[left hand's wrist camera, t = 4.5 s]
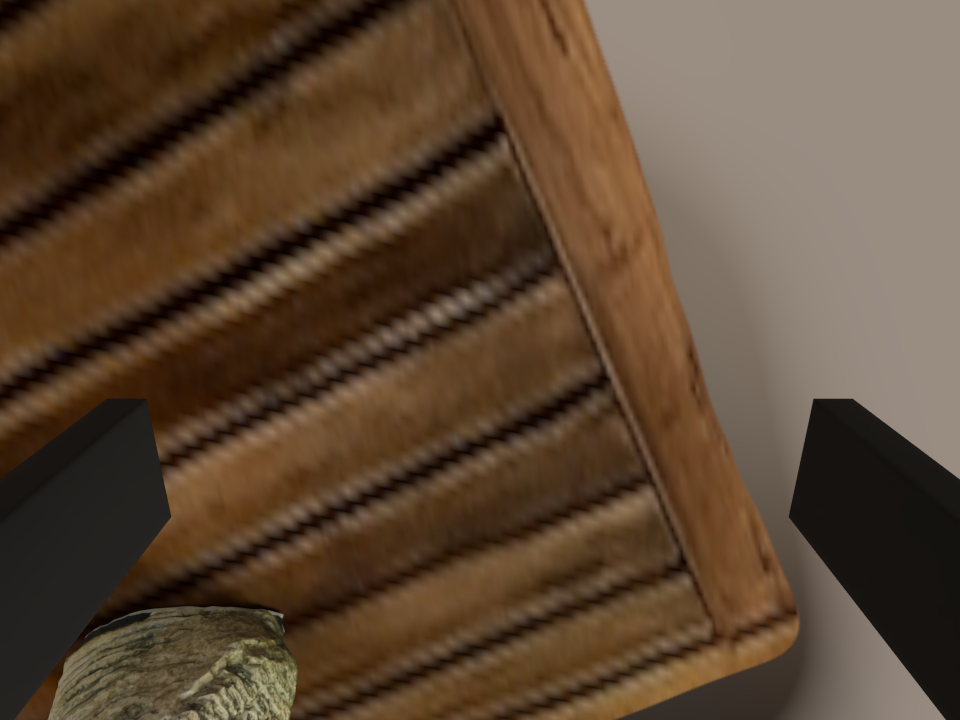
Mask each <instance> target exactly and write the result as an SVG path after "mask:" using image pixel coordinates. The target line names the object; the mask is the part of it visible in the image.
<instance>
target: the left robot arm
mask: <svg viewBox="0 0 960 720" xmlns="http://www.w3.org/2000/svg"><path fill="white" fill-rule="evenodd" d="M170 518H171V514H170V509H169V504H168V499H167V495H166V490H165V485H164V480H163V476H162V471H161V466H160V461H159V457H158V452H157V447H156V442H155V438H154V433H153V428H152V423H151V419H150V414H149V409H148V404H147V400H146V399H106V400H105V401H104V402H102V403H101V404H100V405H98V406H97V407H96V408H94V409H93V410H92V411H91V412H89V413H88V414H87V415H85V416H84V417H83V418H81V419H80V420H79V421H77V422H76V423H75V424H73V425H72V426H71V427H69V428H68V429H67V430H65V431H64V432H63V433H61V434H60V435H59V436H57V437H56V438H55V439H53V440H52V441H51V442H49V443H48V444H47V445H45V446H44V447H43V448H41V449H40V450H39V451H37V452H36V453H35V454H33V455H32V456H31V457H29V458H28V459H27V460H25V461H24V462H23V463H21V464H20V465H19V466H17V467H16V468H15V469H13V470H12V471H11V472H9V473H8V474H7V475H5V476H4V477H3V478H2V479H0V720H14V719H15V718H16V717H17V715H18V714H19V713H20V711H21V710H22V709H23V708H24V706H25V705H26V704H27V702H28V701H29V700H30V699H31V697H32V696H33V695H34V693H35V692H36V691H37V690H38V688H39V687H40V686H41V684H42V683H43V682H44V680H45V679H46V678H47V677H48V675H49V674H50V673H51V671H52V670H53V669H54V668H55V666H56V665H57V664H58V662H59V661H60V660H61V659H62V657H63V656H64V655H65V653H66V652H67V651H68V650H69V648H70V647H71V646H72V644H73V643H74V642H75V640H76V639H77V638H78V637H79V635H80V634H81V633H82V631H83V630H84V629H85V628H86V626H87V625H88V624H89V622H90V621H91V620H92V619H93V617H94V616H95V615H96V613H97V612H98V611H99V609H100V608H101V607H102V606H103V604H104V603H105V602H106V600H107V599H108V598H109V597H110V595H111V594H112V593H113V591H114V590H115V589H116V588H117V586H118V585H119V584H120V582H121V581H122V580H123V579H124V577H125V576H126V575H127V573H128V572H129V571H130V569H131V568H132V567H133V566H134V564H135V563H136V562H137V560H138V559H139V558H140V557H141V555H142V554H143V553H144V551H145V550H146V549H147V548H148V546H149V545H150V544H151V542H152V541H153V540H154V539H155V537H156V536H157V535H158V533H159V532H160V531H161V529H162V528H163V527H164V526H165V524H166V523H167V522H168V520H169V519H170ZM789 518H790V519H791V520H792V522H793V523H794V524H795V526H796V527H797V528H798V529H799V531H800V532H801V533H802V535H803V536H804V537H805V538H806V540H807V541H808V542H809V544H810V545H811V546H812V548H813V549H814V550H815V551H816V553H817V554H818V555H819V557H820V558H821V559H822V560H823V562H824V563H825V564H826V566H827V567H828V568H829V569H830V571H831V572H832V573H833V575H834V576H835V577H836V579H837V580H838V581H839V582H840V584H841V585H842V586H843V588H844V589H845V590H846V591H847V593H848V594H849V595H850V597H851V598H852V599H853V600H854V602H855V603H856V604H857V606H858V607H859V608H860V610H861V611H862V612H863V613H864V615H865V616H866V617H867V619H868V620H869V621H870V622H871V624H872V625H873V626H874V628H875V629H876V630H877V631H878V633H879V634H880V635H881V637H882V638H883V639H884V640H885V642H886V643H887V644H888V646H889V647H890V648H891V650H892V651H893V652H894V653H895V655H896V656H897V657H898V659H899V660H900V661H901V662H902V664H903V665H904V666H905V668H906V669H907V670H908V671H909V673H910V674H911V675H912V677H913V678H914V679H915V681H916V682H917V683H918V684H919V686H920V687H921V688H922V690H923V691H924V692H925V693H926V695H927V696H928V697H929V699H930V700H931V701H932V702H933V704H934V705H935V706H936V708H937V709H938V710H939V711H940V713H941V714H942V715H943V717H944V718H945V719H946V720H960V479H958V478H957V477H956V476H954V475H953V474H952V473H951V472H949V471H948V470H947V469H945V468H944V467H943V466H941V465H940V464H939V463H937V462H936V461H935V460H933V459H932V458H931V457H929V456H928V455H927V454H925V453H924V452H923V451H921V450H920V449H919V448H917V447H916V446H915V445H913V444H912V443H911V442H909V441H908V440H907V439H905V438H904V437H903V436H901V435H900V434H899V433H897V432H896V431H895V430H893V429H892V428H891V427H889V426H888V425H887V424H885V423H884V422H883V421H881V420H880V419H879V418H877V417H876V416H875V415H873V414H872V413H871V412H869V411H868V410H867V409H866V408H864V407H863V406H862V405H860V404H859V403H857V402H856V401H855V400H854V399H814V400H813V404H812V409H811V414H810V419H809V423H808V428H807V433H806V438H805V442H804V447H803V452H802V457H801V461H800V466H799V471H798V476H797V480H796V485H795V490H794V495H793V499H792V504H791V509H790V514H789Z"/></svg>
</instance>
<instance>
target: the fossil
mask: <svg viewBox="0 0 960 720" xmlns="http://www.w3.org/2000/svg"><path fill="white" fill-rule="evenodd" d="M282 618H283V614H280V613H276V612H273V611H269V610H264V609H246V608H238V607H217V606H211V607H206V608H202V607H193V606H184V607H171V608H158V609H150V610H142V611H138V612H134V613H131V614H128V615H126V616H124V617H121V618H118V619H115V620H113V621H112V622H110V623H109V624H107V625H103V626H100V627H98V628H96V629H95V630H93V631H92V632H91V633H89V634H88V635H87V636H86V637H85V639H84V640H83V642H82V644H81V645H80V646H79V648H78V649H77V650H76V651H74V652H73V653H72V654H71V655H70V656H68V657H67V658H66V660H65V663H64V667H63V675H62V678H61V679H60V680H59V682H58V689H57V691H56V696H55V699H54V701H53V706H52V709H51V710H50V715H49V719H48V720H289V717H290V712H291V708H292V704H293V701H294V696H295V689H296V684H297V670H298V668H297V665H296V661H295V658H294V656H293V655H292V654H291V653H290V651H289V649H288V648H287V646H286V645H285V643H284V642H283V641H282V635H283V634H284V632H285V631H284V628H283V625H282Z"/></svg>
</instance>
